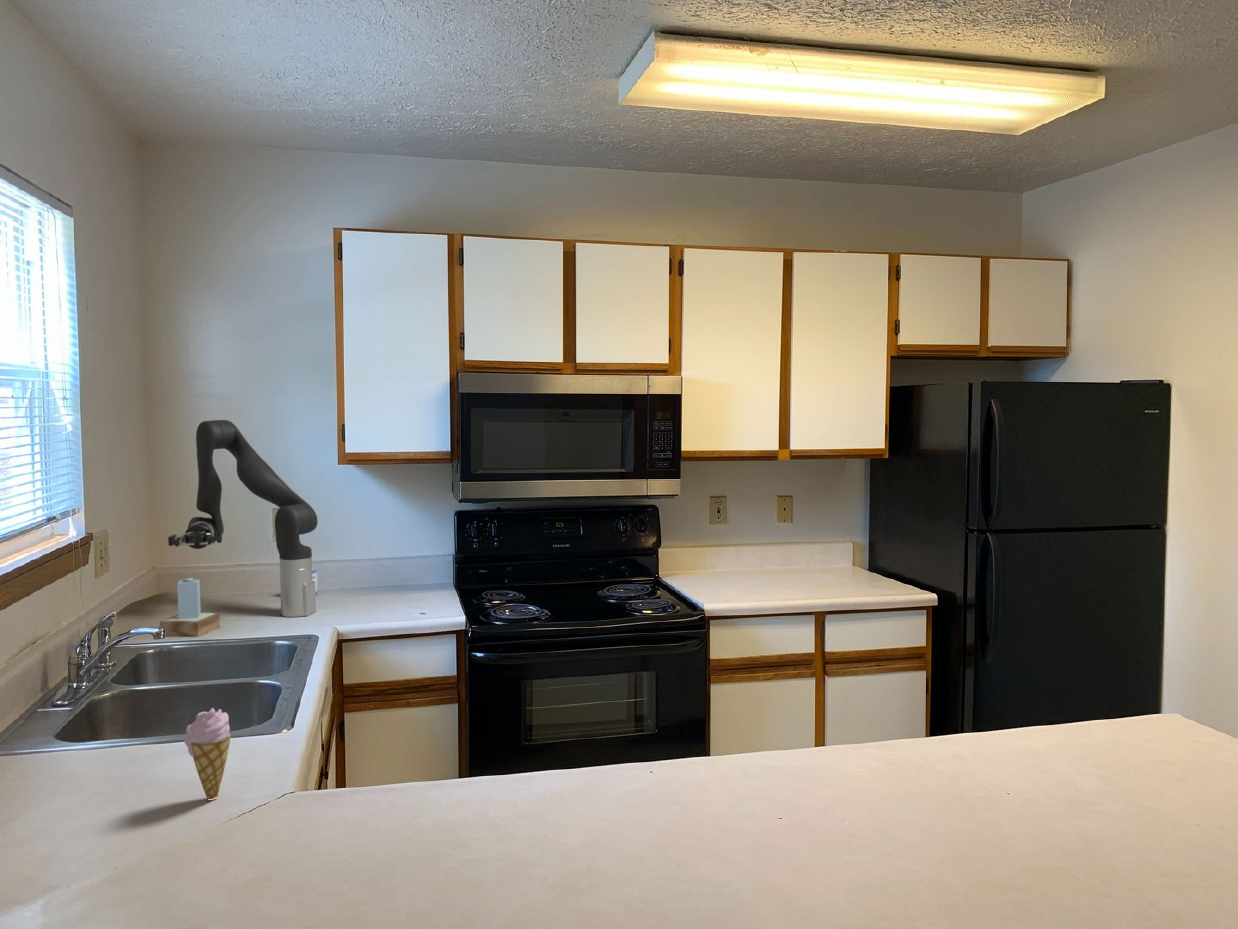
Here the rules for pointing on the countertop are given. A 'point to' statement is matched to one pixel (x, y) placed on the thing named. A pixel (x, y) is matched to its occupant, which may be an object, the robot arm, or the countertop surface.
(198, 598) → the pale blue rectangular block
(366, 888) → the countertop surface
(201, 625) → the walnut base block
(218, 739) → the ice cream cone
